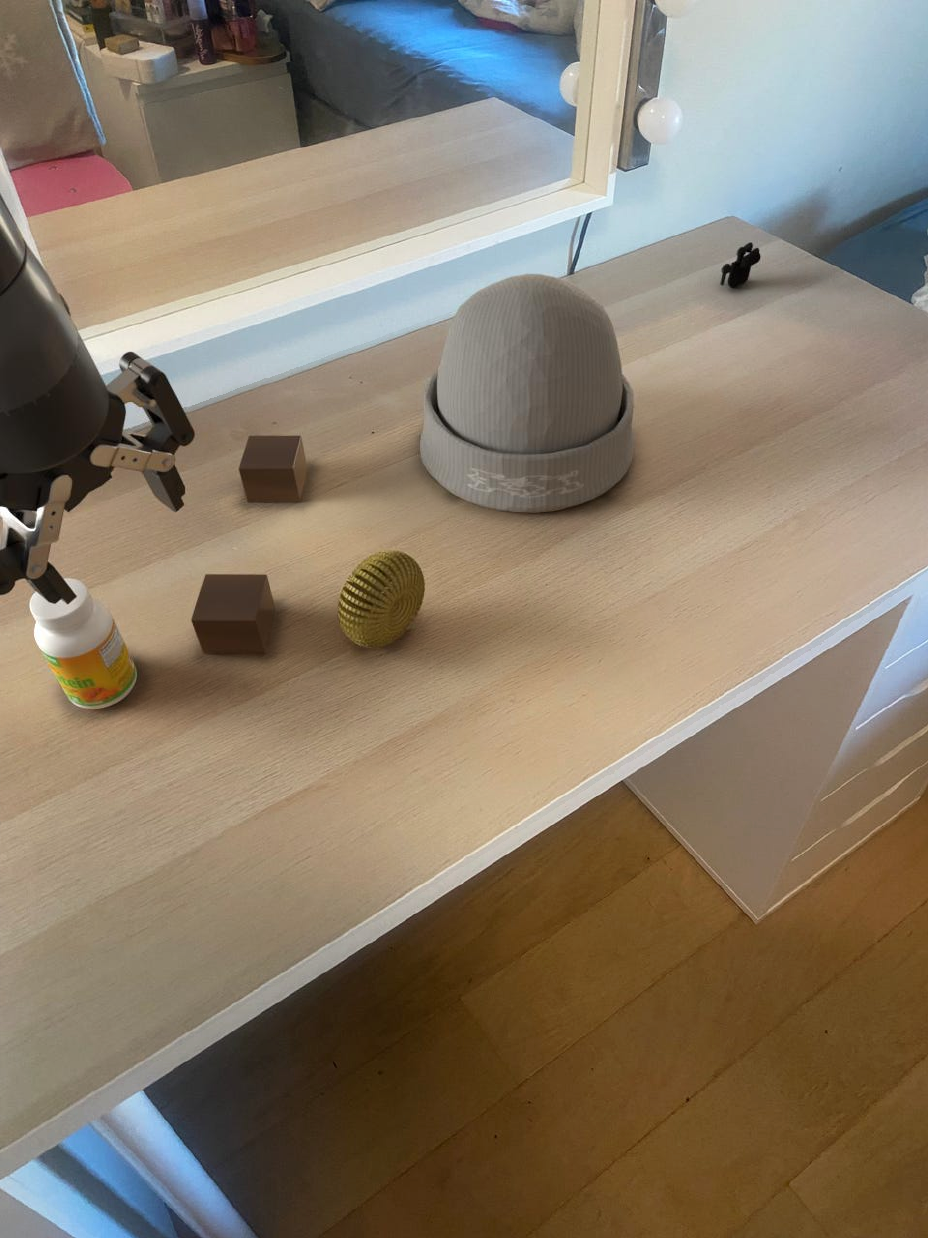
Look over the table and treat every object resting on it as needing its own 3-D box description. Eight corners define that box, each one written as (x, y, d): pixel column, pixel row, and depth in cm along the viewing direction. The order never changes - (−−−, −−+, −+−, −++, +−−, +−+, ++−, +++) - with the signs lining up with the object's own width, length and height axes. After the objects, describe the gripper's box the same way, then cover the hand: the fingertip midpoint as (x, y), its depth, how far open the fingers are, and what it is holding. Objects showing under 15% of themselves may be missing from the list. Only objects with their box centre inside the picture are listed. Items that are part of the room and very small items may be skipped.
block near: (216, 607, 75) (205, 573, 72) (275, 607, 75) (266, 574, 72) (203, 653, 71) (190, 620, 68) (265, 653, 71) (255, 620, 68)
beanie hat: (419, 541, 91) (396, 463, 72) (433, 352, 96) (415, 232, 77) (625, 550, 90) (659, 474, 71) (629, 359, 95) (662, 238, 75)
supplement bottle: (53, 704, 68) (2, 619, 61) (89, 651, 72) (44, 565, 64) (117, 717, 67) (72, 632, 60) (150, 663, 71) (112, 576, 64)
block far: (256, 468, 87) (248, 435, 84) (307, 468, 87) (301, 435, 84) (247, 502, 84) (238, 468, 81) (300, 502, 84) (293, 468, 81)
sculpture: (401, 594, 75) (393, 523, 69) (437, 616, 74) (432, 545, 68) (334, 651, 71) (319, 580, 65) (370, 675, 69) (359, 605, 64)
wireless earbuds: (748, 273, 111) (757, 233, 107) (765, 280, 110) (775, 239, 106) (713, 292, 108) (722, 252, 104) (730, 300, 107) (739, 259, 103)
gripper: (64, 233, 45) (164, 446, 59) (-193, 403, 39) (-15, 592, 53) (165, 298, 42) (244, 504, 56) (-95, 488, 37) (64, 662, 51)
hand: (118, 546), depth 55 cm, fingers open, 8 cm apart
